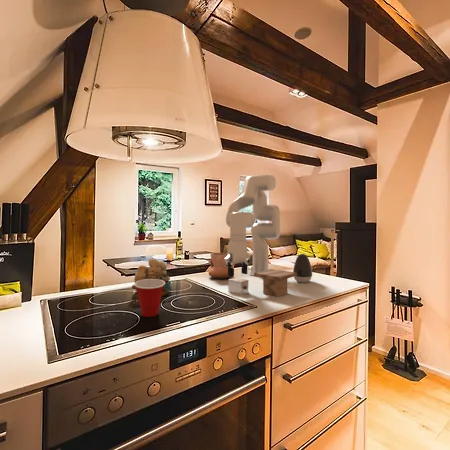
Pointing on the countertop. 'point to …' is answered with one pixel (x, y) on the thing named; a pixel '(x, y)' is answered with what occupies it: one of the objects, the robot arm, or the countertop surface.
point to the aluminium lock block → (238, 286)
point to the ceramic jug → (218, 266)
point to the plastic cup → (149, 296)
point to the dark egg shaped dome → (302, 269)
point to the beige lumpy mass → (152, 275)
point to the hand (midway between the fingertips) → (237, 275)
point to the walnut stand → (275, 281)
